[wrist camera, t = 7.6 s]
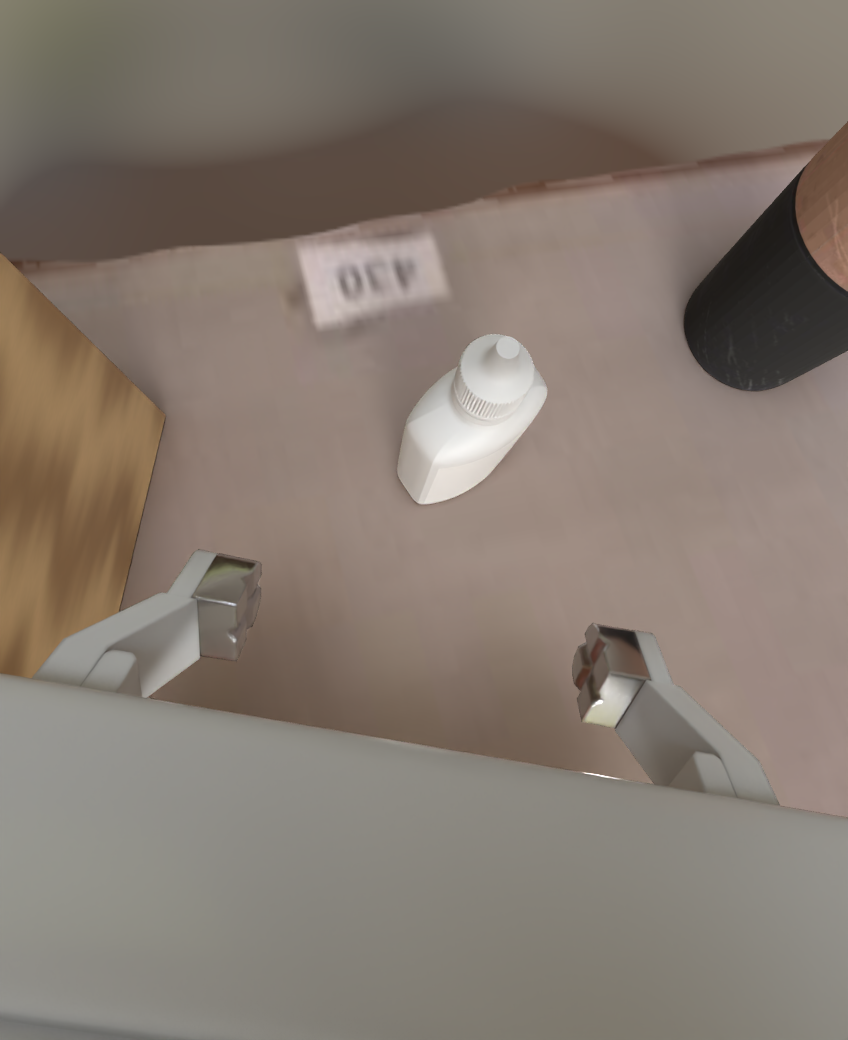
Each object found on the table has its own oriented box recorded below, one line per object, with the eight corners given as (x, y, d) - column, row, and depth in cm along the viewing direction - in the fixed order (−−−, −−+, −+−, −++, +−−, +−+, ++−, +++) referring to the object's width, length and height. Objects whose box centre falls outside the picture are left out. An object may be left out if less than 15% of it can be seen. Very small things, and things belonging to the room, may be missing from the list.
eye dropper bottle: (511, 500, 28) (611, 414, 16) (398, 507, 28) (417, 424, 16) (502, 416, 29) (591, 276, 17) (391, 422, 28) (405, 281, 16)
